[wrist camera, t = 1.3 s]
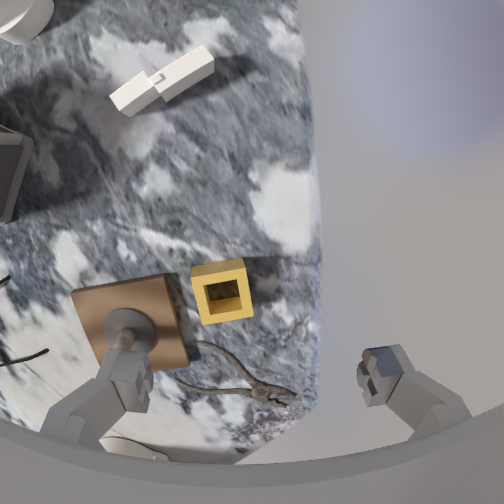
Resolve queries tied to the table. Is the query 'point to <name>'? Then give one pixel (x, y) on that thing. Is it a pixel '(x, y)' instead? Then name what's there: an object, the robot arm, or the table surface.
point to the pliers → (259, 388)
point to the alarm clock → (12, 168)
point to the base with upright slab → (24, 19)
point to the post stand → (133, 320)
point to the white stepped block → (164, 82)
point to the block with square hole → (228, 306)
